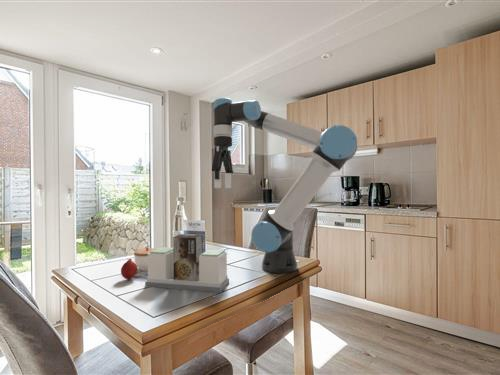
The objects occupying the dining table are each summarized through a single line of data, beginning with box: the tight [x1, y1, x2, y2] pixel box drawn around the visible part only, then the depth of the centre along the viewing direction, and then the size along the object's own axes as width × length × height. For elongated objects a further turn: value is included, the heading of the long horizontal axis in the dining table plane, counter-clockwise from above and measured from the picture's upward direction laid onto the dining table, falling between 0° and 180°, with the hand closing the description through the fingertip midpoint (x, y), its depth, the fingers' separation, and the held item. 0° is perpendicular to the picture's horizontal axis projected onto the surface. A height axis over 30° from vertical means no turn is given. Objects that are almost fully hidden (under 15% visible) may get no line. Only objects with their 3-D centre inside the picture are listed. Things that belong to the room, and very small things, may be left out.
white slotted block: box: [144, 246, 230, 293], centre depth 101 cm, size 28×10×12 cm, turn 77°
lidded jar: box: [133, 246, 157, 272], centre depth 121 cm, size 11×11×9 cm
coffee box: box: [172, 233, 204, 281], centre depth 101 cm, size 9×6×16 cm
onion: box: [120, 258, 139, 281], centre depth 106 cm, size 6×6×8 cm
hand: (223, 188), depth 116 cm, fingers open, 13 cm apart
